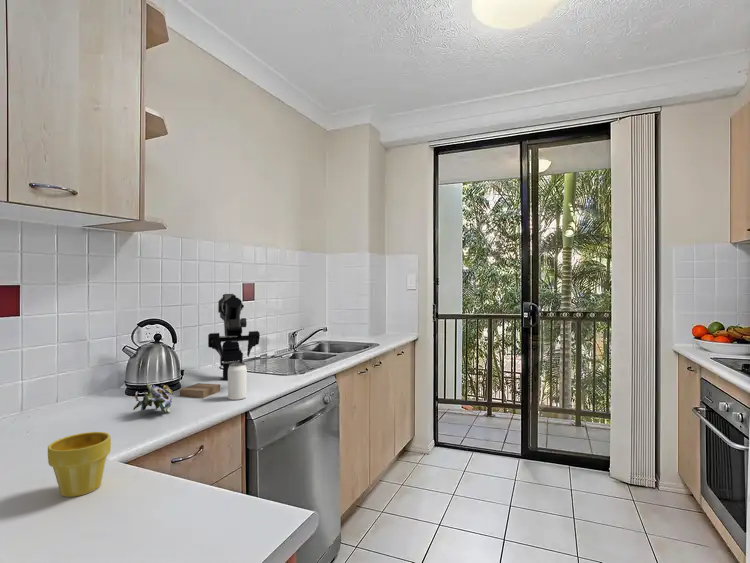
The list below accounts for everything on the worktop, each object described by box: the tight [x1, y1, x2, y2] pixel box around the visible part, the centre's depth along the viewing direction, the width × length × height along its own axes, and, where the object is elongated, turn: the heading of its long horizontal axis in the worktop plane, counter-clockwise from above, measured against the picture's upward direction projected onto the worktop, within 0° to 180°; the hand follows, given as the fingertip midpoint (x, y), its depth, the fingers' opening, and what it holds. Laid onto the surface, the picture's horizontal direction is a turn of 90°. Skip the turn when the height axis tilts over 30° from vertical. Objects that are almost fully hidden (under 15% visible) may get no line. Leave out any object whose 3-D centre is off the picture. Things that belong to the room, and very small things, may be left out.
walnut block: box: [179, 382, 221, 399], centre depth 160 cm, size 10×10×3 cm
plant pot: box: [47, 431, 112, 498], centre depth 86 cm, size 10×10×10 cm
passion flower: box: [133, 383, 174, 416], centre depth 136 cm, size 11×11×12 cm
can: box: [227, 362, 248, 401], centre depth 154 cm, size 6×6×12 cm
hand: (235, 356), depth 161 cm, fingers open, 9 cm apart
